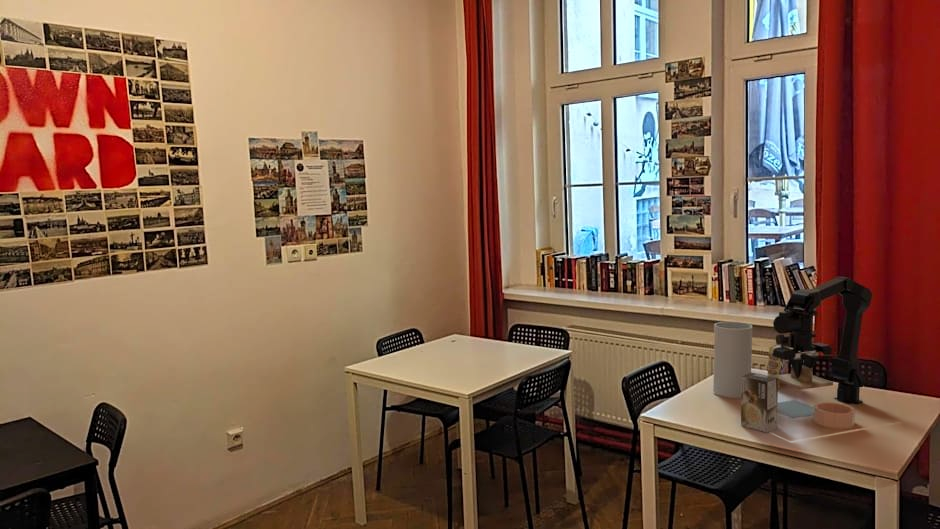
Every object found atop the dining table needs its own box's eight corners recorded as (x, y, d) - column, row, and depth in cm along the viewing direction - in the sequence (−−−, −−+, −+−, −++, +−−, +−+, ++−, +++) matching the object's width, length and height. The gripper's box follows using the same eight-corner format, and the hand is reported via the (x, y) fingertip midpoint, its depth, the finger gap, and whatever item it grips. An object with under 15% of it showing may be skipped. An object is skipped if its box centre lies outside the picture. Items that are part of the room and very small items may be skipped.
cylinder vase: (707, 395, 252) (708, 326, 249) (721, 386, 261) (722, 320, 258) (743, 401, 244) (744, 330, 241) (755, 392, 253) (757, 324, 250)
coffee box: (778, 428, 218) (779, 377, 216) (767, 433, 214) (768, 382, 212) (750, 420, 225) (751, 371, 223) (739, 425, 221) (740, 375, 219)
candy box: (778, 390, 255) (779, 348, 253) (766, 387, 258) (767, 347, 256) (788, 384, 261) (789, 344, 260) (776, 382, 264) (777, 342, 263)
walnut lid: (802, 374, 238) (803, 360, 238) (833, 385, 226) (833, 369, 225) (770, 379, 235) (771, 364, 234) (799, 389, 222) (800, 374, 222)
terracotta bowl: (833, 415, 228) (834, 400, 227) (862, 426, 217) (862, 411, 217) (806, 420, 224) (806, 405, 224) (834, 431, 214) (834, 415, 213)
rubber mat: (795, 401, 243) (795, 399, 243) (827, 413, 229) (827, 412, 229) (761, 406, 238) (761, 405, 238) (792, 419, 225) (792, 418, 225)
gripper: (807, 322, 238) (806, 367, 240) (761, 327, 233) (760, 373, 235) (833, 329, 228) (832, 376, 230) (786, 334, 222) (784, 382, 224)
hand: (801, 376), depth 230 cm, fingers closed on walnut lid, 3 cm apart
